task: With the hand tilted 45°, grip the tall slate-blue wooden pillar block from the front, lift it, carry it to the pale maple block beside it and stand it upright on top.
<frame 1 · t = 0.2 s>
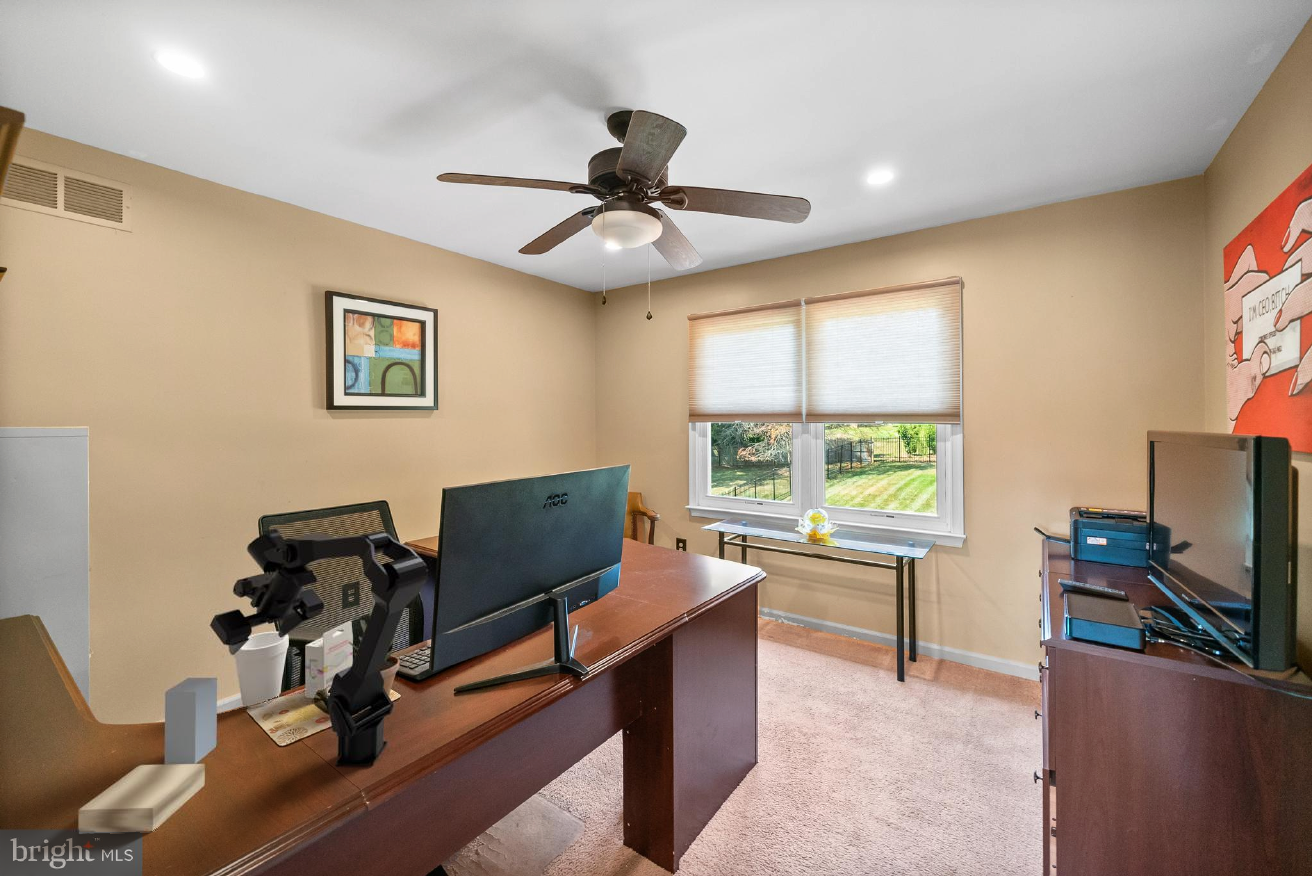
hand: (256, 644, 107), 15 cm above the table, tool tilted 35°, fingers open, 9 cm apart
foam cup: (261, 700, 114), on the table
maple block: (145, 810, 82), on the table
ink cartridge box: (329, 690, 119), on the table
slate blue pillar: (191, 755, 95), on the table
potted plant: (373, 696, 117), on the table
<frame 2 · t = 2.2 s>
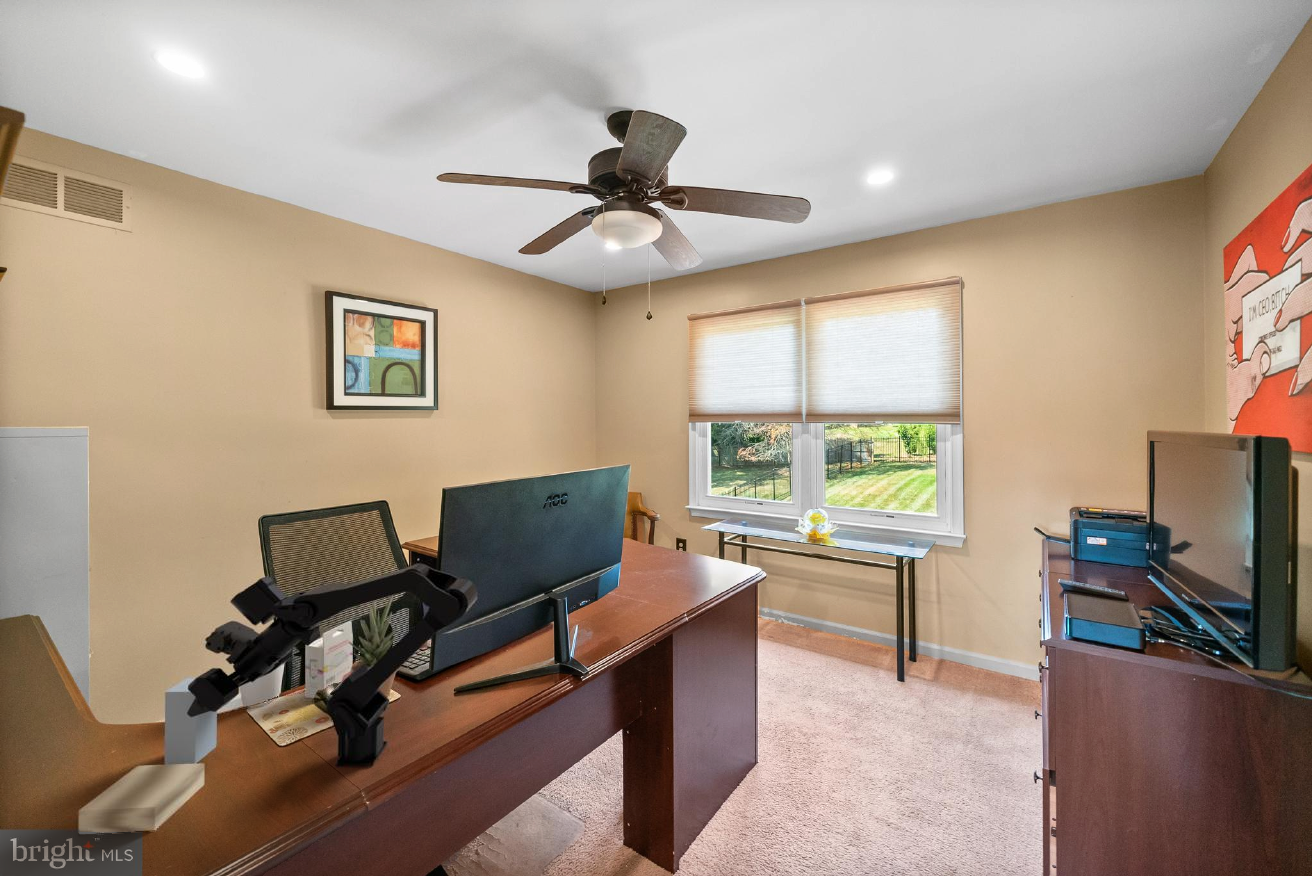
hand: (210, 700, 95), 10 cm above the table, tool tilted 45°, fingers open, 9 cm apart
nothing on the table moved.
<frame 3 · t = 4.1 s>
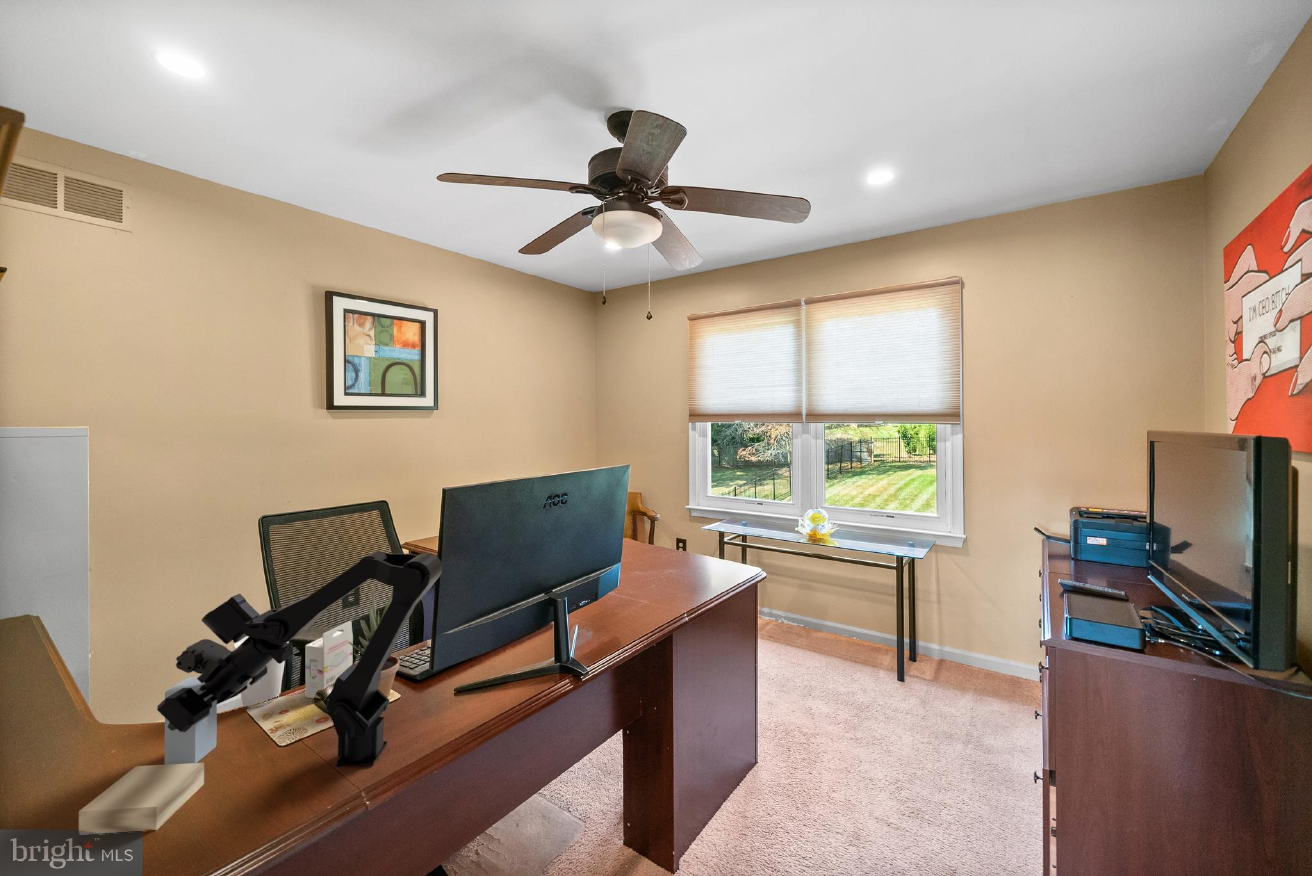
hand: (183, 719, 94), 7 cm above the table, tool tilted 45°, fingers closed on slate blue pillar, 5 cm apart
slate blue pillar: (191, 755, 95), on the table, touching gripper
everything else where it was.
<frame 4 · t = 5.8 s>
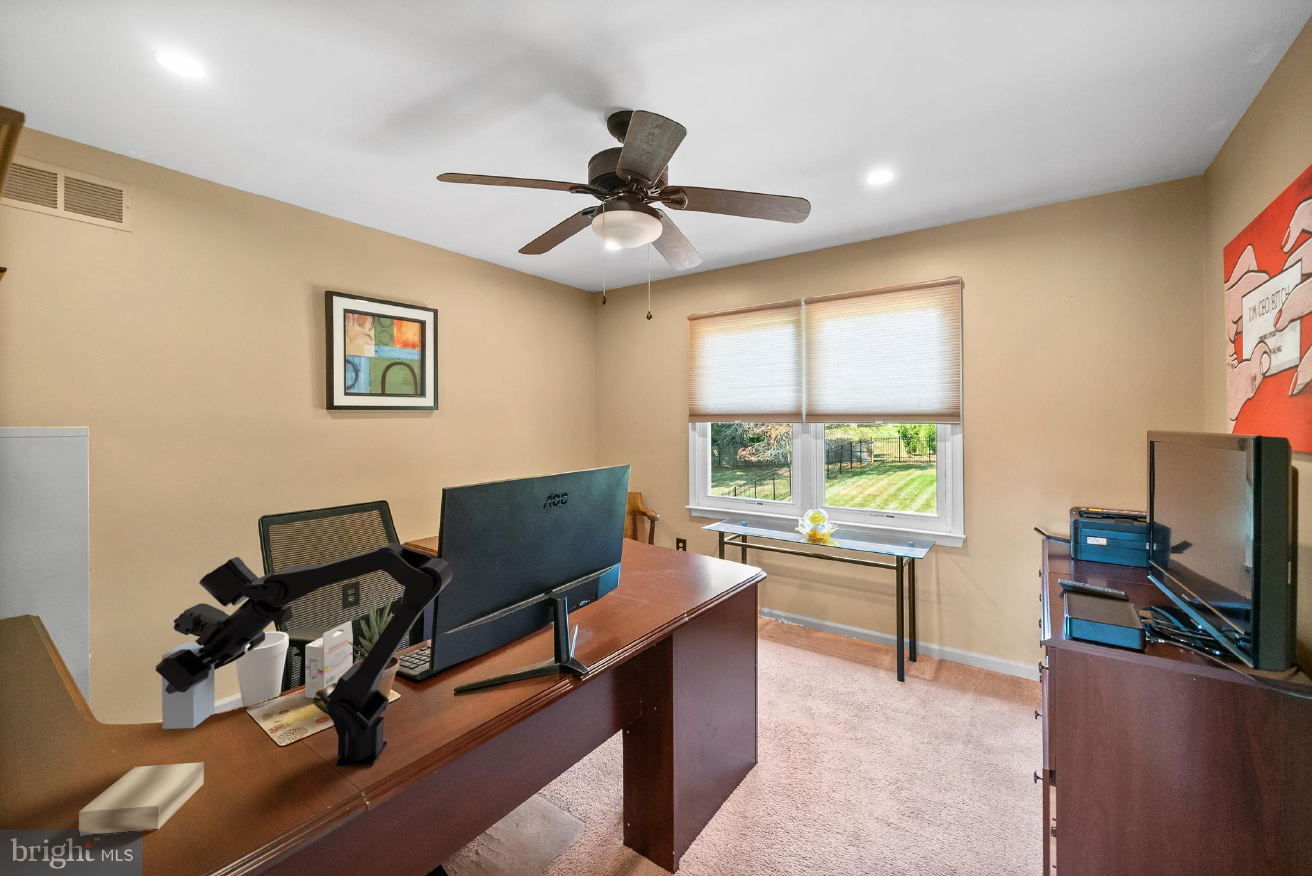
hand: (180, 683, 93), 13 cm above the table, tool tilted 45°, fingers closed on slate blue pillar, 5 cm apart
slate blue pillar: (189, 719, 94), point 7 cm above the table, touching gripper
everything else where it was.
when the fingers open (11 cm above the table, at t = 7.5 s): slate blue pillar drops 1 cm, resting on maple block.
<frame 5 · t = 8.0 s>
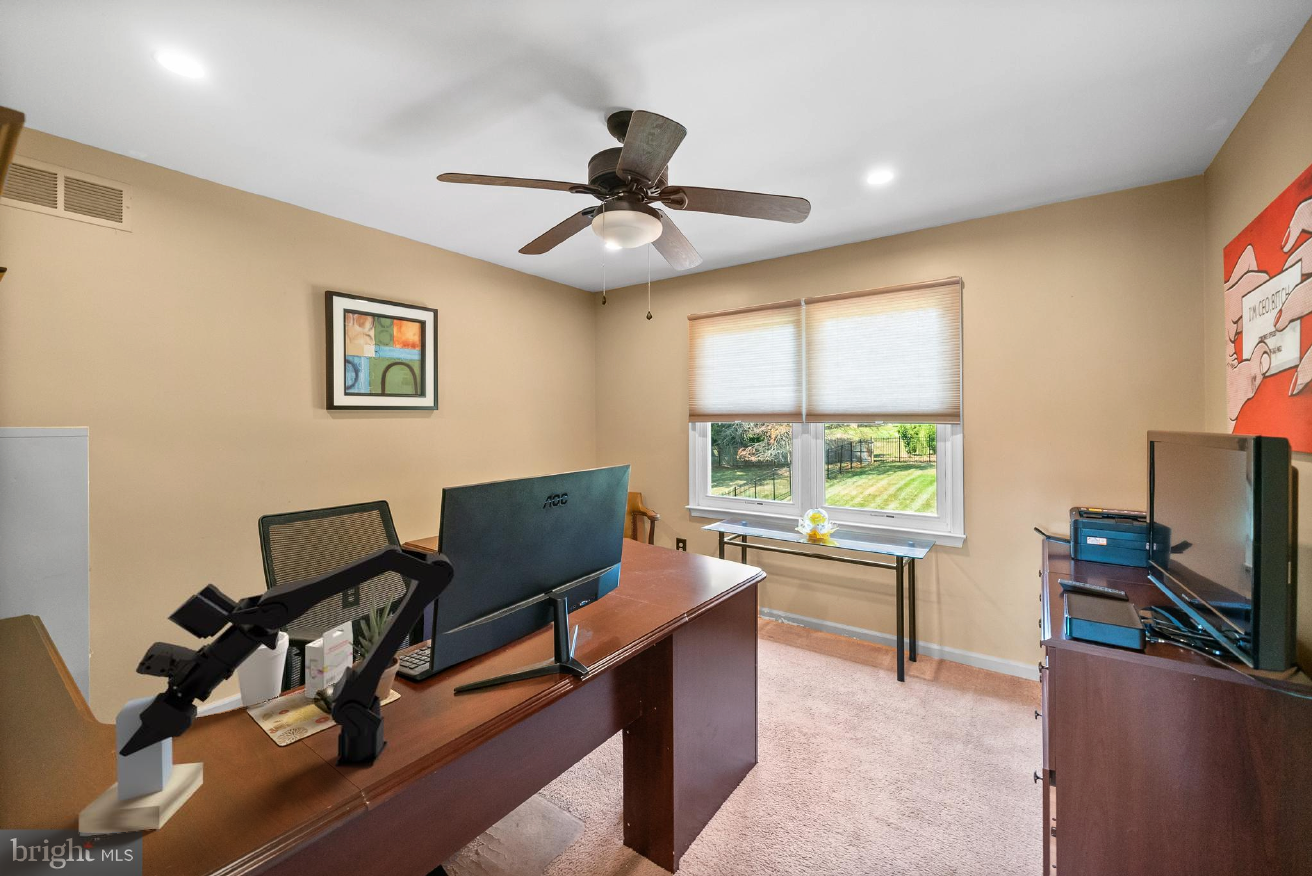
hand: (134, 737, 81), 12 cm above the table, tool tilted 45°, fingers open, 9 cm apart
maple block: (145, 810, 82), on the table, touching slate blue pillar
slate blue pillar: (146, 785, 82), point 4 cm above the table, touching maple block
everything else where it was.
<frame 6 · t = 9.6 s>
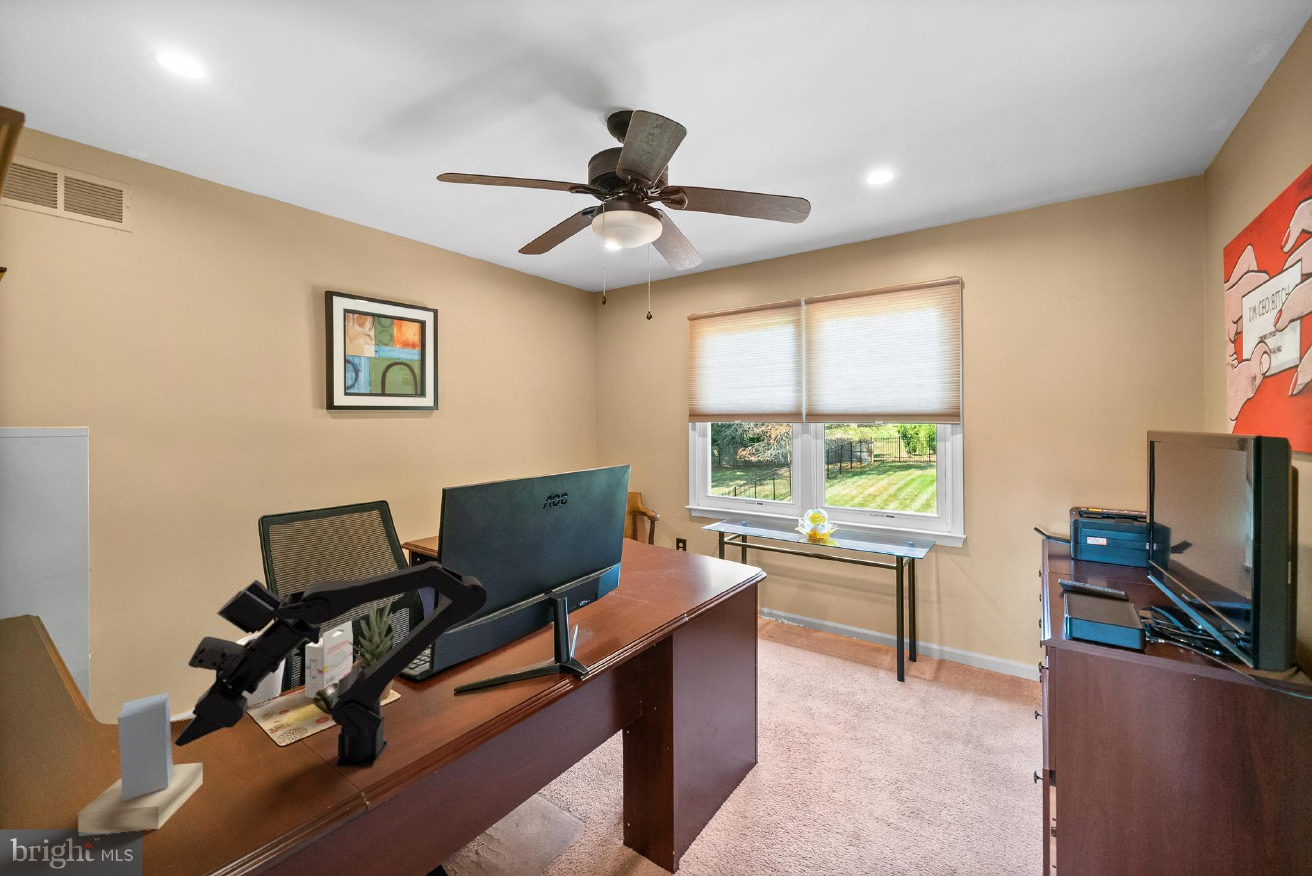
hand: (186, 728, 84), 11 cm above the table, tool tilted 45°, fingers open, 9 cm apart
maple block: (144, 810, 82), on the table
slate blue pillar: (148, 784, 82), point 4 cm above the table
everything else where it was.
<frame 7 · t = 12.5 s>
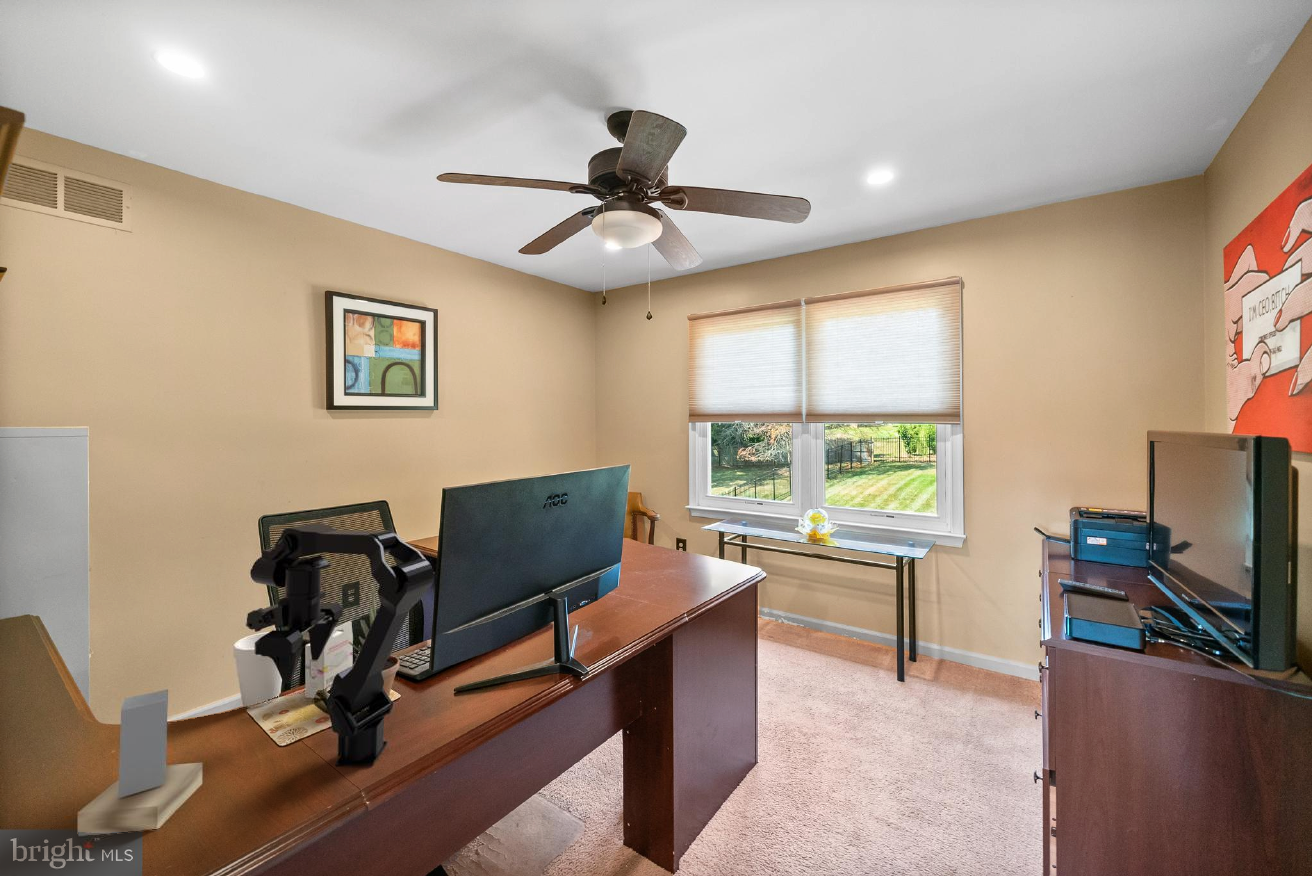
hand: (301, 670, 101), 13 cm above the table, tool pointing down, fingers open, 9 cm apart
maple block: (144, 810, 82), on the table, touching slate blue pillar
slate blue pillar: (142, 783, 82), point 4 cm above the table, touching maple block
everything else where it was.
at the end: slate blue pillar 0.9 cm off-centre on the maple block, point 4.1 cm above the maple block's base; slate blue pillar tilted 1°; the gripper is holding nothing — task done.
